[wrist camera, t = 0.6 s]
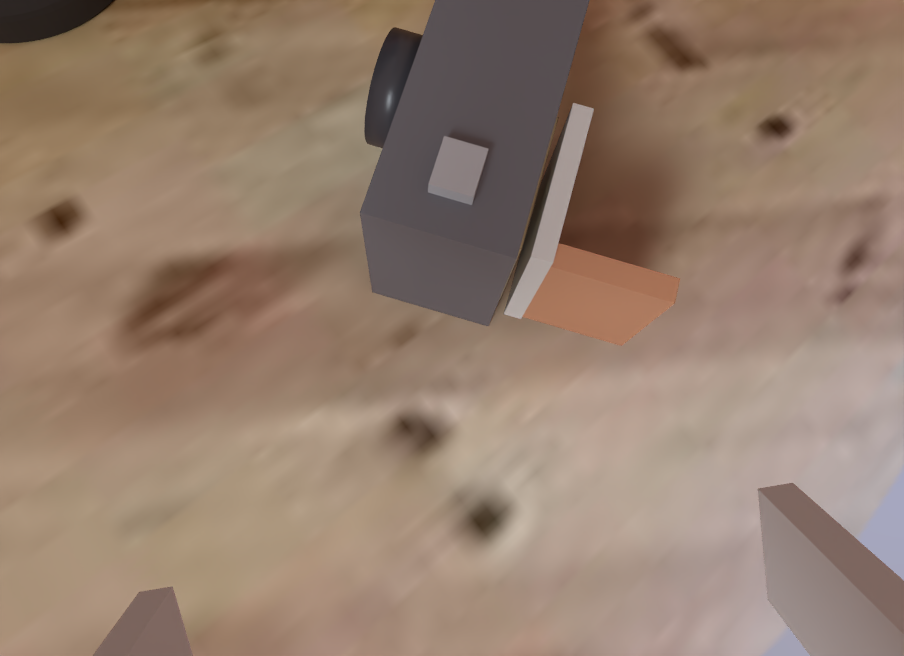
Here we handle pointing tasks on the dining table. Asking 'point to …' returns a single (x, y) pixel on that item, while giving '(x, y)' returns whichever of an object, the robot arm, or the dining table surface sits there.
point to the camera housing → (463, 147)
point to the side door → (580, 262)
